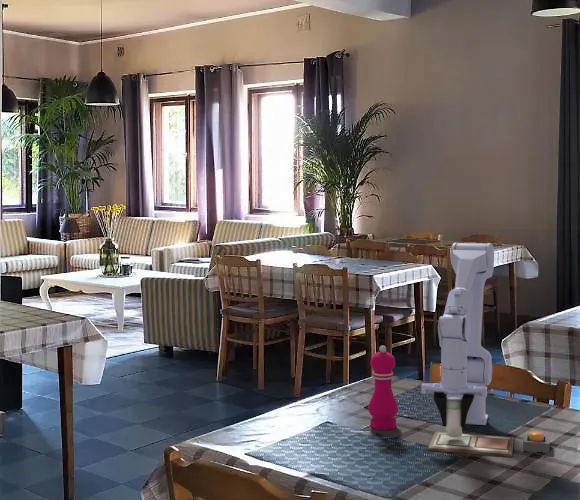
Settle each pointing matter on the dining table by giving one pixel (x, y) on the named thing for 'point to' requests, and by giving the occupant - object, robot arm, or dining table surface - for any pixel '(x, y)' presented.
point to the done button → (536, 436)
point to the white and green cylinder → (453, 417)
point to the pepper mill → (383, 392)
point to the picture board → (473, 444)
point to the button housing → (535, 444)
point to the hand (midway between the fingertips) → (454, 425)
